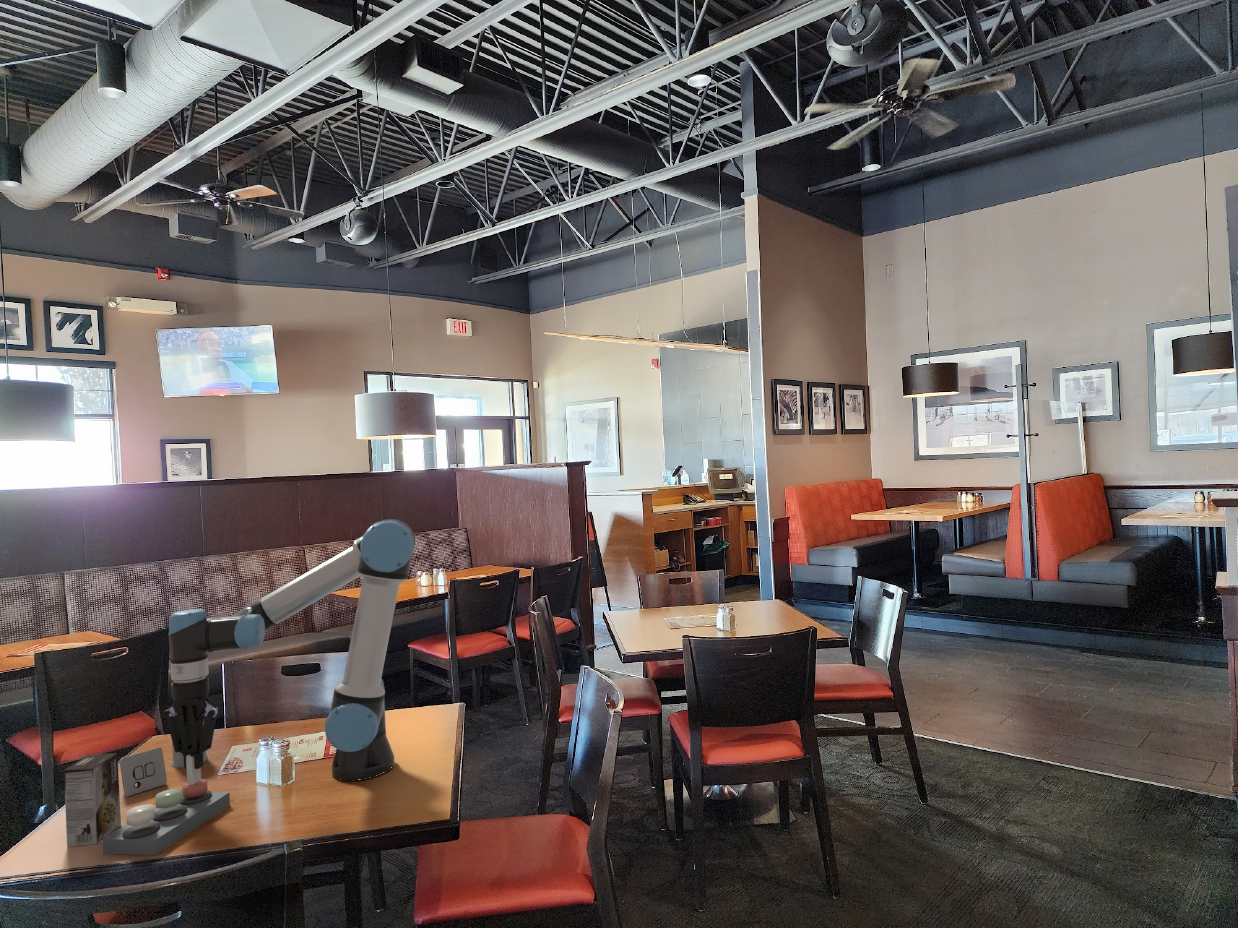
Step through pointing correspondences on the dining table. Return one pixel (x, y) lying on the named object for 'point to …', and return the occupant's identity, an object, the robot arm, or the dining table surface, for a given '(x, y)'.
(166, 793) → the green button
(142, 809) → the cream button
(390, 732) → the dining table surface
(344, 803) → the dining table surface
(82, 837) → the cookie box
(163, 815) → the button panel
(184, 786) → the red button
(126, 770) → the electrical switch
